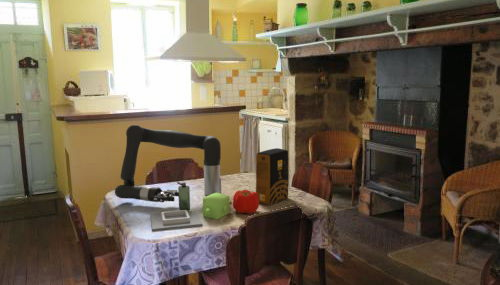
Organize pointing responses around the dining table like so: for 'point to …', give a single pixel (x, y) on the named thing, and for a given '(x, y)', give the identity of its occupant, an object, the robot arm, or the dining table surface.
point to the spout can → (184, 196)
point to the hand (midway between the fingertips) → (178, 196)
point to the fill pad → (175, 220)
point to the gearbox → (216, 205)
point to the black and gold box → (272, 176)
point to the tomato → (245, 201)
